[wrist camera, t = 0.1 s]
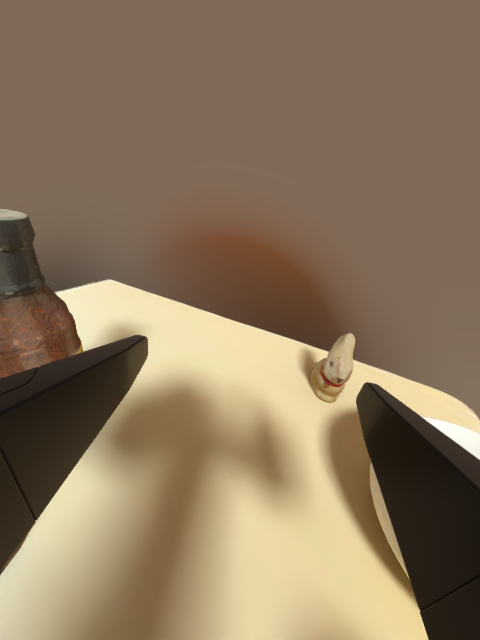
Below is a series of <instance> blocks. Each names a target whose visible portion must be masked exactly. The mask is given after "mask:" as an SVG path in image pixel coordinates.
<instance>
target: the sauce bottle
mask: <svg viewBox="0 0 480 640" xmlns="http://www.w3.org/2000/svg"><path fill="white" fill-rule="evenodd" d="M34 237H35V233H34V230H33V227H32V225H31V222H30V220H29V217H28V216H27V215H26V214H24V213H21V212H17V211H11V210H6V209H0V378H3V377H6V376H9V375H13V374H16V373H19V372H22V371H26V370H29V369H32V368H35V367H40V366H41V365H44V364H47V363H50V362H54V361H57V360H60V359H63V358H66V357H69V356H72V355H75V354H78V353H82V352H83V348H82V343H81V340H80V338H79V336H78V335H77V330H76V324H75V320H74V318H73V316H72V314H71V313H70V312H69V310H68V308H67V305H66V304H65V302H64V301H63V300H61V299H60V298H59V297H58V296H57V295H56V294H55V293H54V292H53V291H52V290H51V289H50V288H49V287H48V286H47V285H46V284H45V279H44V276H43V275H42V274H41V271H40V267H39V264H38V261H37V257H36V254H35V250H34V248H33V240H34Z"/></svg>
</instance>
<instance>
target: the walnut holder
mask: <svg viewBox="0 0 480 640" xmlns="http://www.w3.org/2000/svg"><path fill="white" fill-rule="evenodd" d="M20 547H21V546H20V545H19V546H18V547H17V549H16V550H15V552H14V553H13V554H12V556H11V557H10V559H9V560H8V562H7V563H6V564H5V566H4V567H3V569H2V570H1V571H0V574H1V573H2V572H3V570H4V569H5V568H6V566H7V565H8V563H9V562H10V561H11V559H12V558H13V557H14V555H15V554H16V553H17V551H18V550H19V549H20Z"/></svg>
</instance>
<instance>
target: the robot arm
mask: <svg viewBox="0 0 480 640" xmlns="http://www.w3.org/2000/svg"><path fill="white" fill-rule="evenodd" d="M147 356H148V339H147V337H145V336H141V335H134V336H131V337H128V338H125V339H122V340H119V341H116V342H113V343H110V344H106V345H103V346H100V347H97V348H94V349H91V350H88V351H85V352H82V353H78V354H75V355H72V356H69V357H66V358H63V359H60V360H57V361H54V362H50V363H47V364H44V365H41V366H40V367H35V368H32V369H29V370H26V371H22V372H19V373H16V374H13V375H9V376H6V377H3V378H0V571H1V570H2V569H3V567H4V566H5V564H6V563H7V562H8V560H9V559H10V557H11V556H12V554H13V553H14V552H15V550H16V549H17V547H18V546H19V545H20V543H21V542H22V540H23V539H24V538H25V536H26V535H27V533H28V532H29V531H30V529H31V528H32V526H33V525H34V524H35V520H37V519H38V518H39V516H40V515H41V513H42V512H43V511H44V509H45V508H46V506H47V505H48V504H49V502H50V501H51V499H52V498H53V496H54V495H55V494H56V492H57V491H58V489H59V488H60V487H61V485H62V484H63V482H64V481H65V480H66V478H67V477H68V475H69V474H70V473H71V471H72V470H73V468H74V467H75V466H76V464H77V463H78V461H79V460H80V458H81V457H82V456H83V454H84V453H85V451H86V450H87V449H88V447H89V446H90V444H91V443H92V442H93V440H94V439H95V437H96V436H97V435H98V433H99V432H100V430H101V429H102V428H103V426H104V425H105V423H106V422H107V420H108V419H109V418H110V416H111V415H112V413H113V412H114V411H115V409H116V408H117V406H118V405H119V404H120V402H121V401H122V399H123V398H124V397H125V395H126V394H127V392H128V391H129V389H130V388H131V386H132V384H133V382H134V381H135V379H136V377H137V375H138V373H139V372H140V370H141V368H142V366H143V364H144V363H145V361H146V359H147ZM356 404H357V409H358V414H359V418H360V423H361V428H362V432H363V436H364V440H365V444H366V447H367V450H368V453H369V456H370V459H371V462H372V466H373V469H374V472H375V475H376V478H377V481H378V484H379V487H380V490H381V493H382V496H383V499H384V503H385V506H386V509H387V512H388V515H389V518H390V521H391V524H392V527H393V530H394V533H395V536H396V540H397V543H398V546H399V549H400V552H401V555H402V558H403V561H404V564H405V567H406V570H407V573H408V577H409V580H410V583H411V586H412V589H413V592H414V595H415V598H416V601H417V604H418V607H419V609H420V610H421V611H420V614H421V617H422V620H423V623H424V626H425V630H426V633H427V636H428V639H429V640H480V460H479V459H478V458H477V457H475V456H474V455H473V454H471V453H470V452H468V451H467V450H466V449H464V448H463V447H462V446H460V445H459V444H458V443H456V442H455V441H453V440H452V439H451V438H449V437H448V436H447V435H445V434H444V433H443V432H441V431H440V430H439V429H437V428H436V427H434V426H433V425H432V424H430V423H429V422H428V421H426V420H425V419H424V418H422V417H421V416H420V415H418V414H417V413H415V412H414V411H413V410H411V409H410V408H409V407H407V406H406V405H405V404H403V403H402V402H400V401H399V400H398V399H396V398H395V397H394V396H392V395H391V394H390V393H388V392H387V391H386V390H384V389H383V388H381V387H380V386H379V385H377V384H373V383H368V382H367V383H365V384H364V385H363V387H362V388H361V390H360V392H359V394H358V396H357V398H356Z"/></svg>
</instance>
